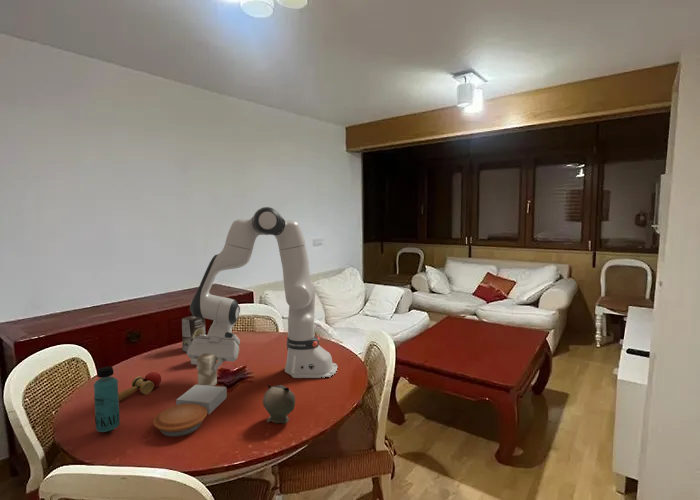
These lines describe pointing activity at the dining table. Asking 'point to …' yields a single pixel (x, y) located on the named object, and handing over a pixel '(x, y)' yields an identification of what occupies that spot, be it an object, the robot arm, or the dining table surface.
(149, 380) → the kendama
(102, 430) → the beverage bottle
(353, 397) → the dining table surface
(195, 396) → the grey base block
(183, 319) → the coffee box
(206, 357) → the ash block
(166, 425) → the pie
